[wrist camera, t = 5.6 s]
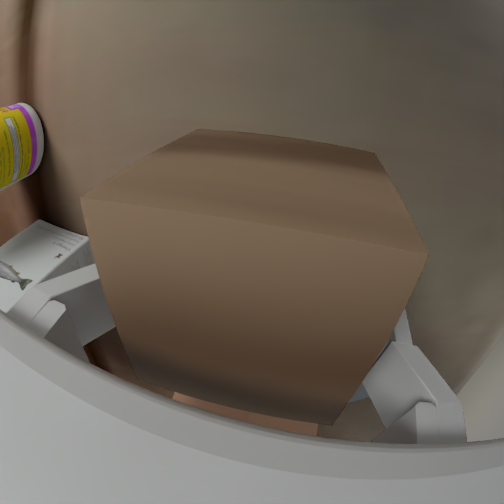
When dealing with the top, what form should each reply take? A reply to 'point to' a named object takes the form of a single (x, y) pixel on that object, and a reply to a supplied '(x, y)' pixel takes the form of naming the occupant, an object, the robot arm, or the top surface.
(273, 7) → the top surface
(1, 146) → the supplement bottle
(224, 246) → the walnut block
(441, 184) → the top surface
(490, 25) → the top surface
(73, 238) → the supplement box
